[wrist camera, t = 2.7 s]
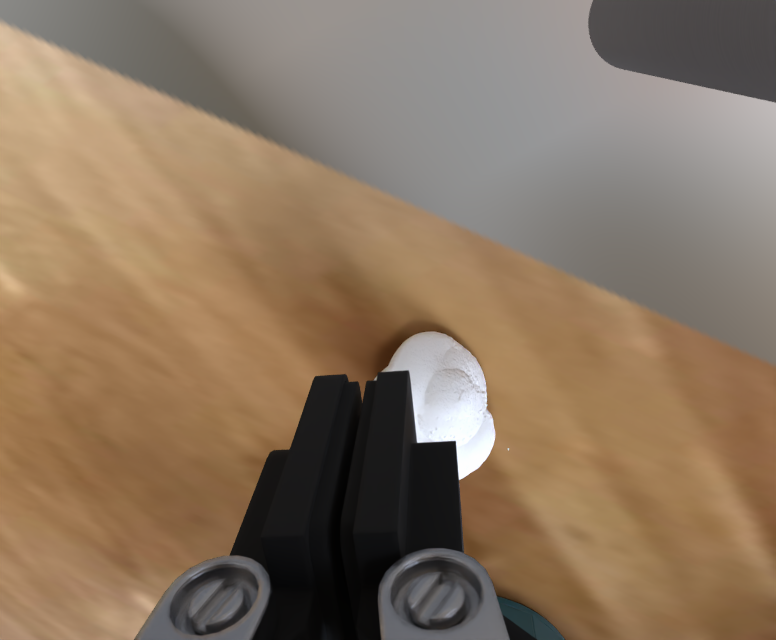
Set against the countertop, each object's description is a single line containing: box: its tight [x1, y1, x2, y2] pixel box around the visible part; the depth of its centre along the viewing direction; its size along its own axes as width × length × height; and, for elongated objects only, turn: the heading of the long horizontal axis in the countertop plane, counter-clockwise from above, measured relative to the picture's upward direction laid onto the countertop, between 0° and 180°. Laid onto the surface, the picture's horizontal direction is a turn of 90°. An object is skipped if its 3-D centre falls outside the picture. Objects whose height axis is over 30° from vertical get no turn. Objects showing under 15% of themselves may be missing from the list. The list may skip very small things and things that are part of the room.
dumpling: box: [374, 331, 509, 486], centre depth 26 cm, size 7×5×4 cm
